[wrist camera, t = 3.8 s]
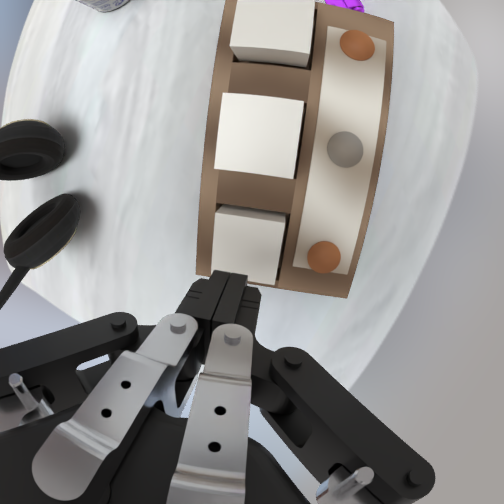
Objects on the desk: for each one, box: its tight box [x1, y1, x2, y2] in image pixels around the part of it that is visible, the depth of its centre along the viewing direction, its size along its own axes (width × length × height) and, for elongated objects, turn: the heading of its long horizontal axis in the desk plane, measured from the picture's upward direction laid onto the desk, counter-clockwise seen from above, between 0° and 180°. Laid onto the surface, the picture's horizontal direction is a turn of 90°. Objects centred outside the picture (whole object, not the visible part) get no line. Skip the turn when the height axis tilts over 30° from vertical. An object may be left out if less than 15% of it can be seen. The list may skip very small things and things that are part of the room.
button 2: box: [230, 0, 315, 67], centre depth 12 cm, size 4×4×3 cm
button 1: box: [211, 204, 286, 285], centre depth 19 cm, size 4×4×3 cm
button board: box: [196, 0, 394, 298], centre depth 17 cm, size 20×11×4 cm, turn 173°
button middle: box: [214, 93, 304, 179], centre depth 15 cm, size 4×4×3 cm
